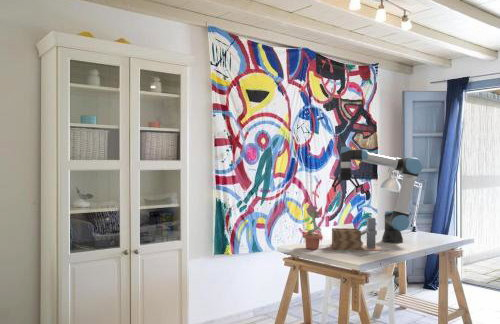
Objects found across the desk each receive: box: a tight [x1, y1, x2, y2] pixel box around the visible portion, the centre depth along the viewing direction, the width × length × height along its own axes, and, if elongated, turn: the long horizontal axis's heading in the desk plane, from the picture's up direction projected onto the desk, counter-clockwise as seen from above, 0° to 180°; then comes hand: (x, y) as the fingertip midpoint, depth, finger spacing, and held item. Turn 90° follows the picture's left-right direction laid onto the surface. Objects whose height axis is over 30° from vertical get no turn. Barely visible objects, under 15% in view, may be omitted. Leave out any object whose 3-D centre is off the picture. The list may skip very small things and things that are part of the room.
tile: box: [361, 245, 383, 252], centre depth 301 cm, size 12×14×1 cm
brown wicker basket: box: [330, 227, 363, 251], centre depth 302 cm, size 20×13×13 cm, turn 86°
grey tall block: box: [365, 217, 378, 248], centre depth 301 cm, size 5×13×20 cm, turn 176°
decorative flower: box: [302, 205, 324, 250], centre depth 301 cm, size 15×14×30 cm
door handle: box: [360, 229, 367, 246], centre depth 321 cm, size 18×8×20 cm
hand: (345, 196), depth 318 cm, fingers open, 13 cm apart
